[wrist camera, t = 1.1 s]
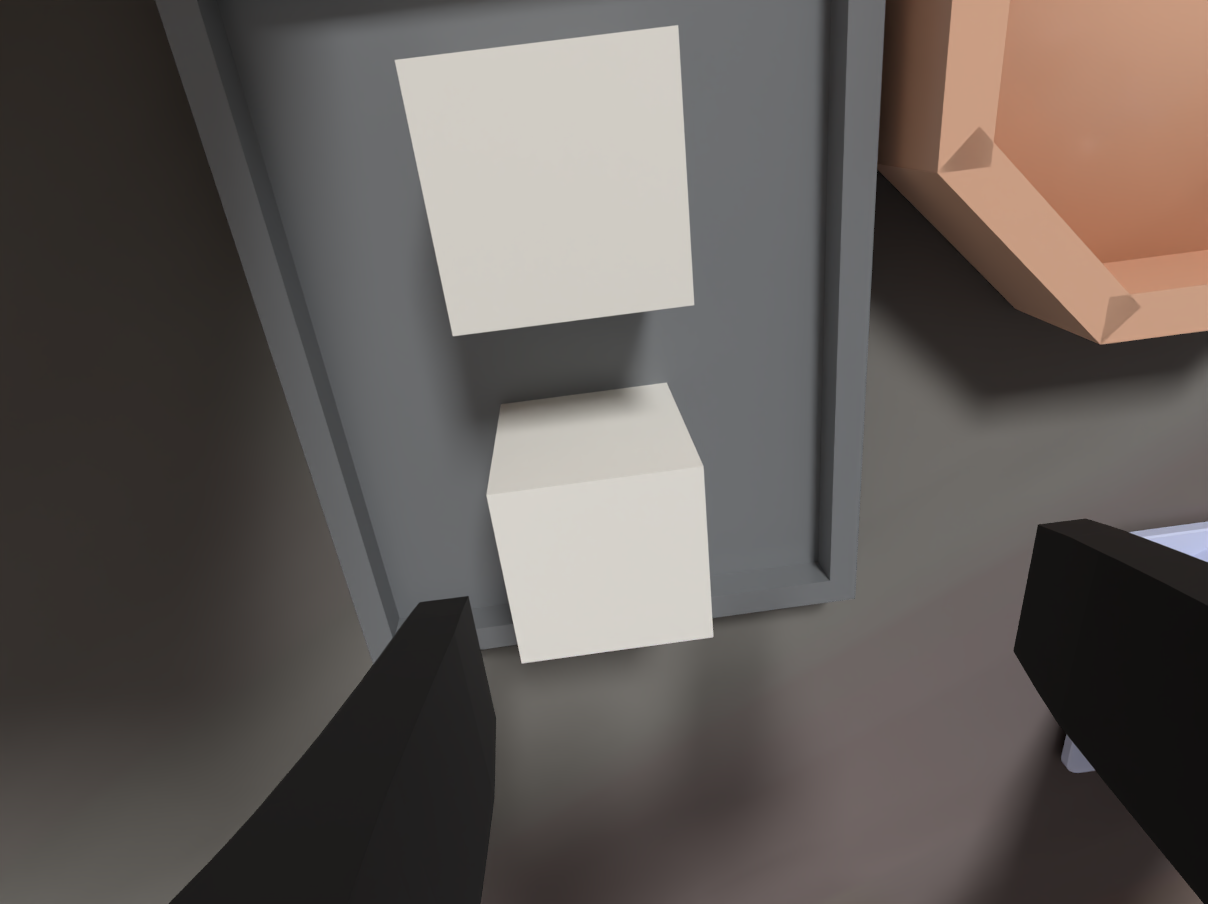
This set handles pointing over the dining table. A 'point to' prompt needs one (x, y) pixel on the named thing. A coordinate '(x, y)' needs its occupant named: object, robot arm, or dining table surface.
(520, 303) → the off-white cube
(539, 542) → the white block
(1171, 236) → the bowl
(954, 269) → the dining table surface
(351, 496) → the tray
